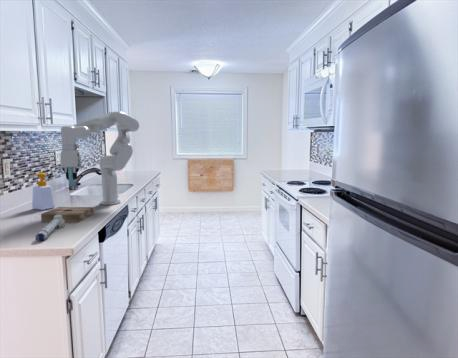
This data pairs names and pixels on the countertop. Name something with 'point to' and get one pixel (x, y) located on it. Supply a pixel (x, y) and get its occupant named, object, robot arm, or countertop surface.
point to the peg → (71, 177)
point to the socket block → (68, 214)
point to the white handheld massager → (50, 228)
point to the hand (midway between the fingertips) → (71, 179)
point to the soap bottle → (42, 194)
